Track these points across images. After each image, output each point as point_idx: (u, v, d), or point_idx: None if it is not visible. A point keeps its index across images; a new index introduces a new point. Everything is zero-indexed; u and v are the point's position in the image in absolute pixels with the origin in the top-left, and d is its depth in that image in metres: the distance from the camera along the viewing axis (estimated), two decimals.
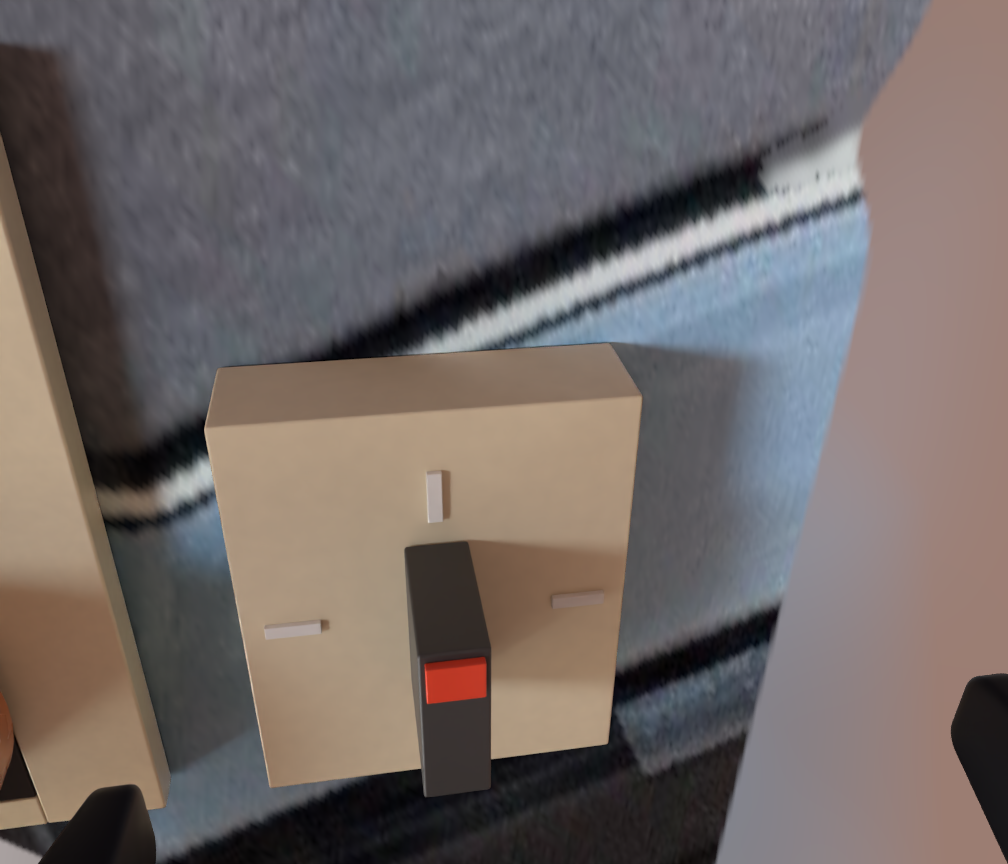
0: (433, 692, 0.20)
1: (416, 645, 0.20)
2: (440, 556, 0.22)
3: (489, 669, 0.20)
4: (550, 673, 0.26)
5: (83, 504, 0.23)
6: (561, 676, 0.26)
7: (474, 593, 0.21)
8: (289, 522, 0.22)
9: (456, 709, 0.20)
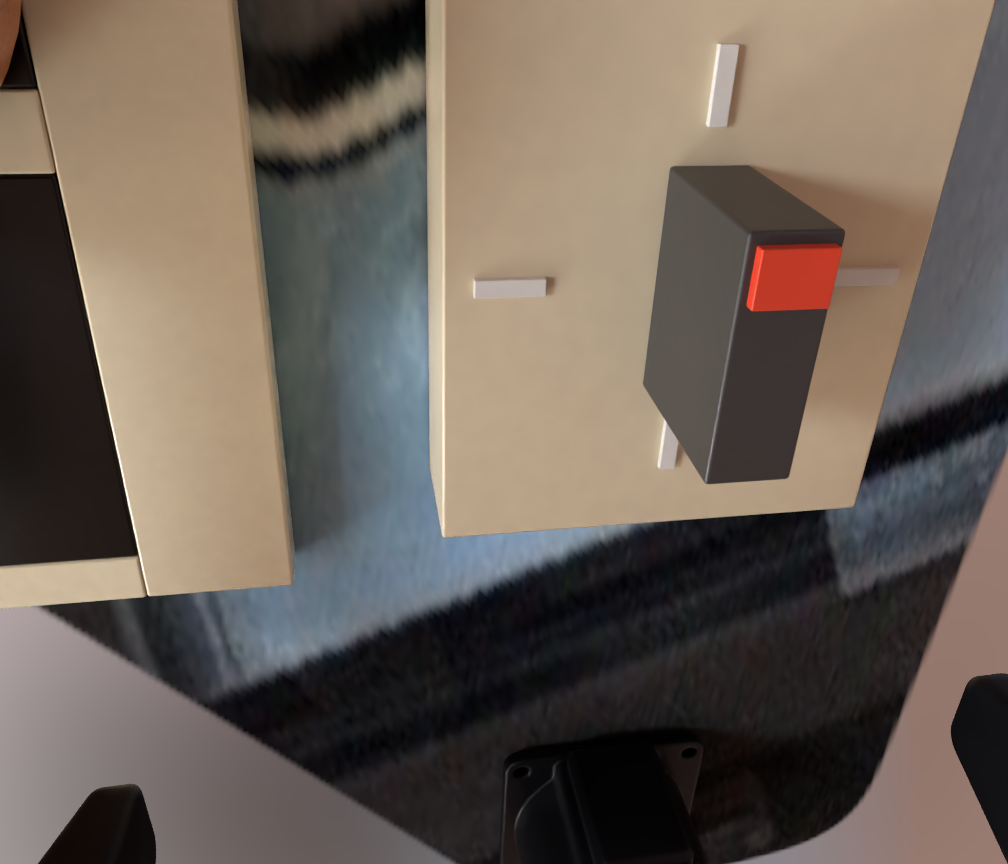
0: (764, 290, 0.14)
1: (740, 226, 0.14)
2: (723, 172, 0.17)
3: None
4: None
5: (242, 101, 0.17)
6: (820, 398, 0.20)
7: (789, 195, 0.16)
8: (529, 110, 0.16)
9: (779, 334, 0.15)
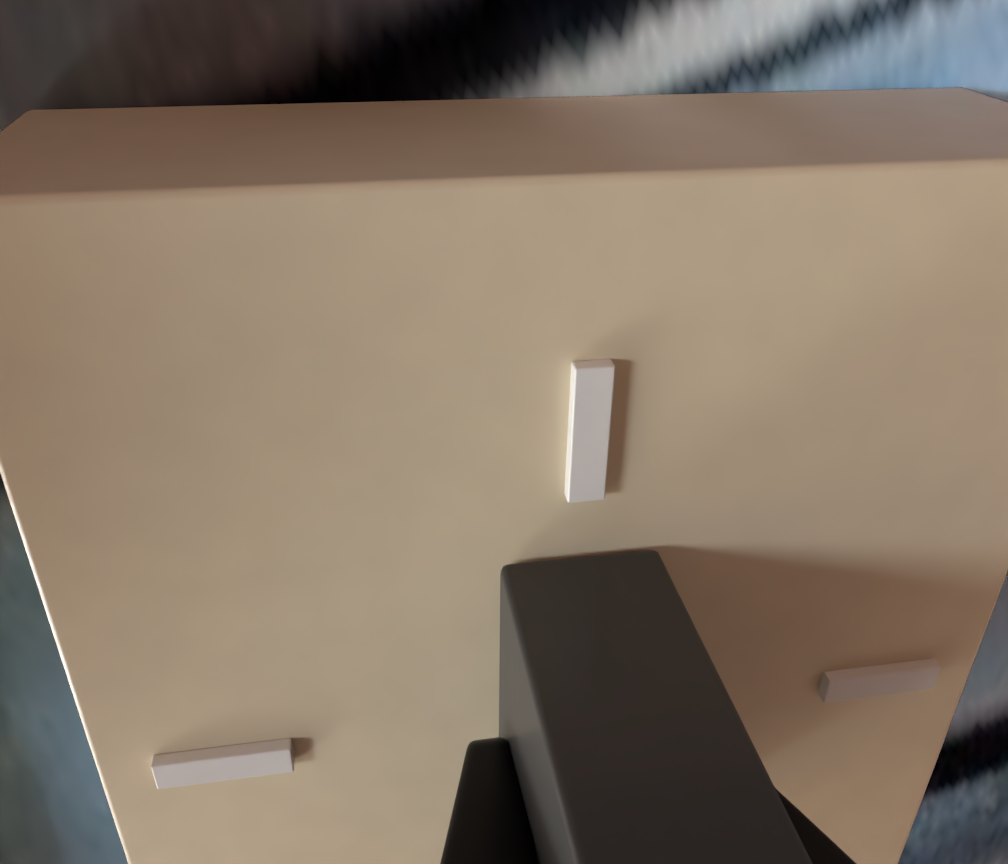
0: None
1: None
2: (598, 590, 0.09)
3: None
4: None
5: None
6: None
7: (719, 700, 0.07)
8: (198, 502, 0.08)
9: None
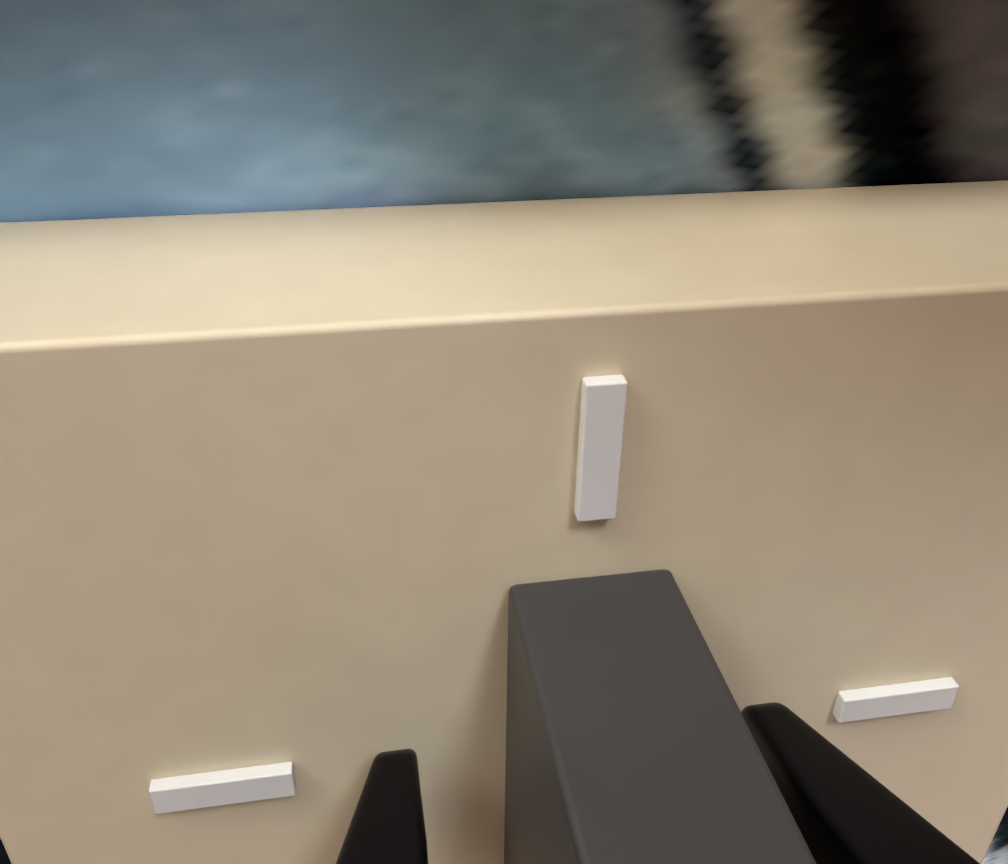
0: None
1: None
2: (609, 610, 0.08)
3: None
4: None
5: None
6: None
7: (737, 729, 0.07)
8: (932, 439, 0.09)
9: None
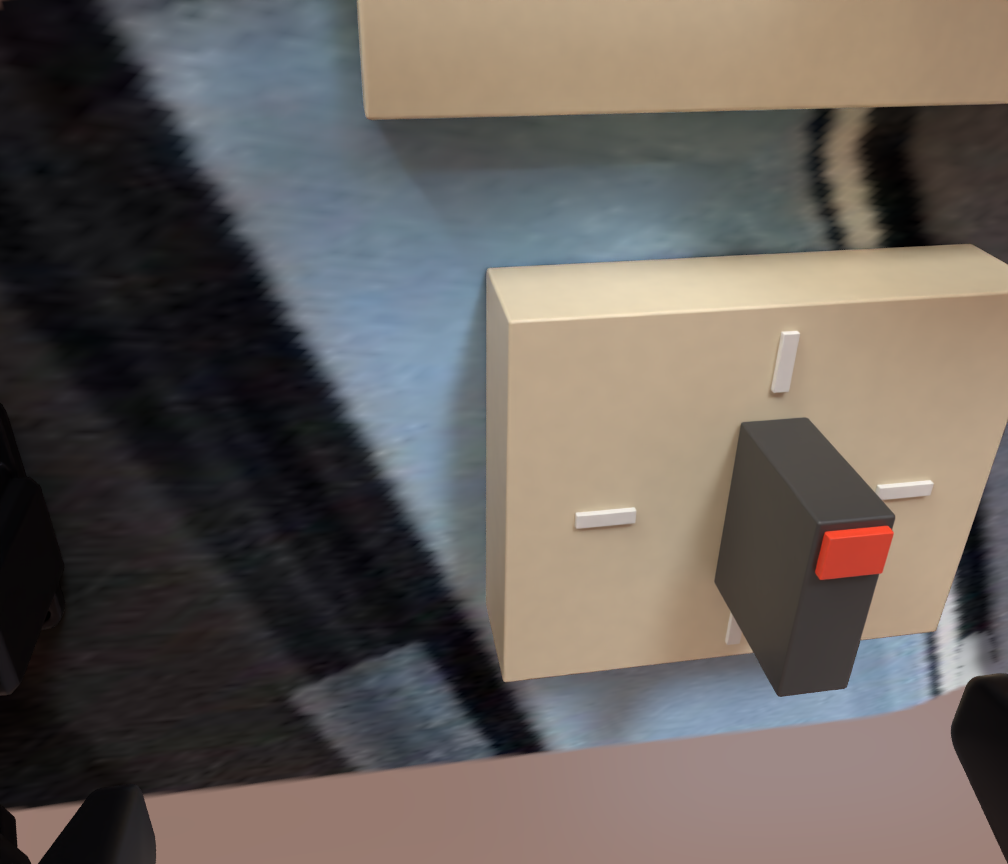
0: (830, 565, 0.17)
1: (810, 512, 0.17)
2: (786, 430, 0.20)
3: None
4: (634, 612, 0.23)
5: None
6: (627, 623, 0.23)
7: (845, 464, 0.19)
8: (920, 360, 0.20)
9: (840, 589, 0.18)
